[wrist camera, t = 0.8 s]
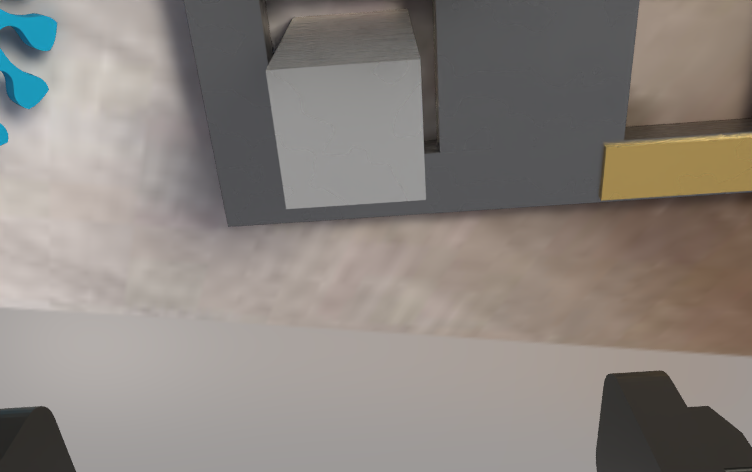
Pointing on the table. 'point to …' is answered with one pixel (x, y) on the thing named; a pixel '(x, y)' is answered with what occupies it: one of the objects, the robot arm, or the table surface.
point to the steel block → (348, 110)
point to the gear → (18, 83)
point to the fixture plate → (480, 114)
